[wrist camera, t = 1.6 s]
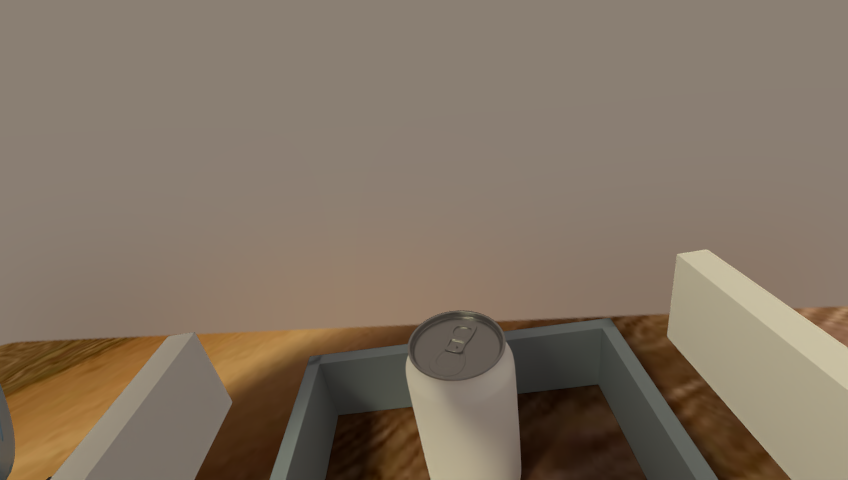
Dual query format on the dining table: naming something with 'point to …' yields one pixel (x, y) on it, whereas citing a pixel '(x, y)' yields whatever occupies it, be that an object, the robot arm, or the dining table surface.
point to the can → (465, 397)
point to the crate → (535, 371)
